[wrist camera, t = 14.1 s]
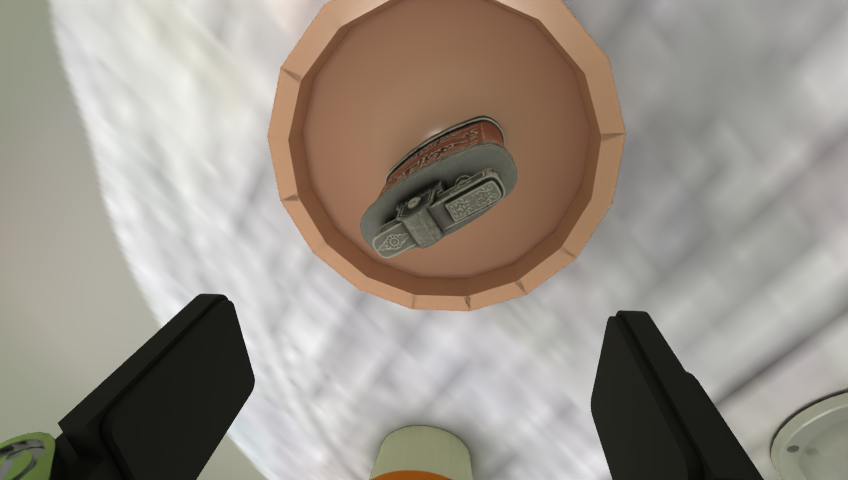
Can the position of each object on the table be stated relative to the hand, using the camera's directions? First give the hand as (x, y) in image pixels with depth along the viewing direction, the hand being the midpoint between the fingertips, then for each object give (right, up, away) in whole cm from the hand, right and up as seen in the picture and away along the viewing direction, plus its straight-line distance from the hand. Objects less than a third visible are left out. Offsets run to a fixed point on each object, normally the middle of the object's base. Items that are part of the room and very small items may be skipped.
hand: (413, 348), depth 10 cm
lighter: (+2, +8, +15) cm, 17 cm away
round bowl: (+1, +8, +16) cm, 18 cm away
